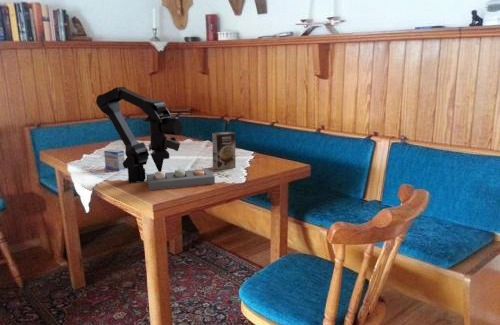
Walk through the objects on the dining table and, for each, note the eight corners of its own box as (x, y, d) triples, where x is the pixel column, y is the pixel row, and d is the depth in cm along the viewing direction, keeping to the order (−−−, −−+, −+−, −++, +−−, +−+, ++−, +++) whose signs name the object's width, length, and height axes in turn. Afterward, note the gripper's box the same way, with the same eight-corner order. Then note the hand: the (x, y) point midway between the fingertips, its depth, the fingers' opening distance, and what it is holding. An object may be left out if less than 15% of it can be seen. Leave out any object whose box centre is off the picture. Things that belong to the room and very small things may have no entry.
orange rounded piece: (195, 180, 175) (195, 173, 174) (194, 177, 179) (193, 171, 178) (205, 179, 176) (205, 172, 175) (203, 177, 180) (203, 170, 179)
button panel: (149, 190, 166) (149, 182, 165) (146, 181, 177) (146, 174, 176) (214, 183, 174) (214, 176, 173) (208, 175, 185) (208, 168, 184)
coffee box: (218, 170, 193) (217, 135, 189) (212, 166, 198) (211, 132, 194) (236, 167, 197) (235, 133, 193) (230, 164, 202) (229, 130, 198)
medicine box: (105, 169, 196) (103, 150, 194) (111, 166, 200) (110, 148, 198) (119, 171, 193) (117, 152, 191) (125, 168, 197) (124, 150, 195)
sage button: (176, 179, 172) (175, 172, 171) (174, 177, 176) (174, 170, 175) (185, 178, 173) (185, 171, 173) (184, 176, 177) (184, 169, 176)
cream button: (155, 181, 170) (155, 174, 169) (154, 178, 174) (154, 171, 173) (166, 180, 171) (165, 173, 170) (164, 177, 175) (164, 170, 174)
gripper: (181, 136, 161) (183, 175, 165) (174, 128, 178) (176, 164, 182) (151, 138, 158) (154, 178, 162) (147, 129, 175) (149, 166, 179)
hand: (159, 171), depth 171 cm, fingers closed
